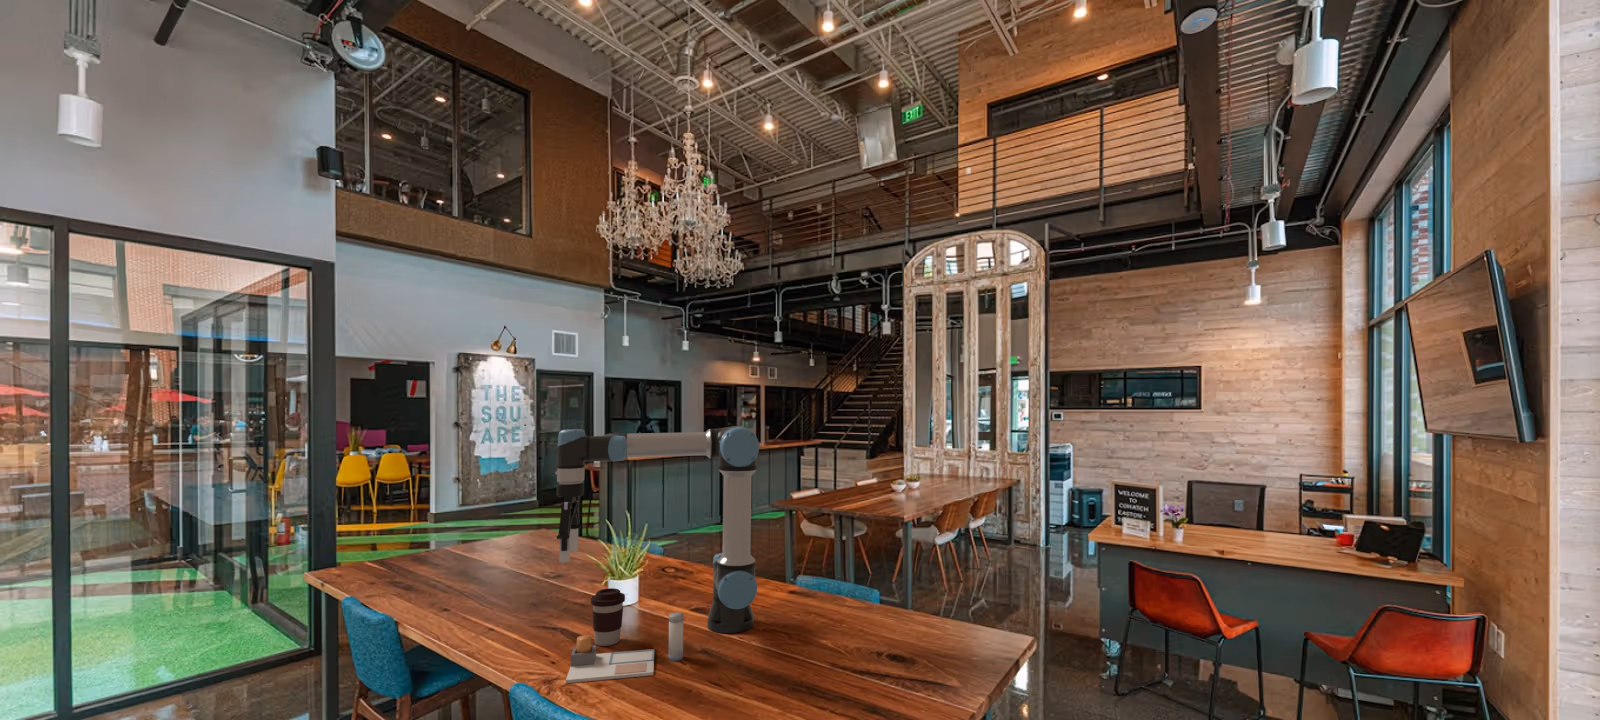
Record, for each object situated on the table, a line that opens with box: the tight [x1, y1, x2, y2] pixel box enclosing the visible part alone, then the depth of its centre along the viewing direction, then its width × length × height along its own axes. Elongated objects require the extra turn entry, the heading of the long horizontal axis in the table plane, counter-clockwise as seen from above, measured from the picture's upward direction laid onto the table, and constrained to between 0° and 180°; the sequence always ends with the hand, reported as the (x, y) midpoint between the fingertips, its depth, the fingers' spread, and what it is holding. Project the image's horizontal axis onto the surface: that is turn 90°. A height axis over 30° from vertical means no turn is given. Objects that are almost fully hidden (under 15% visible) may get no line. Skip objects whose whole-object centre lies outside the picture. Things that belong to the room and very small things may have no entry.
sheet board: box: [565, 644, 655, 684], centre depth 170 cm, size 22×16×4 cm
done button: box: [576, 634, 592, 654], centre depth 172 cm, size 4×4×5 cm
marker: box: [668, 611, 685, 662], centre depth 176 cm, size 4×4×12 cm
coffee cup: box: [590, 587, 626, 647], centre depth 188 cm, size 10×10×15 cm
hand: (568, 556), depth 180 cm, fingers open, 13 cm apart
